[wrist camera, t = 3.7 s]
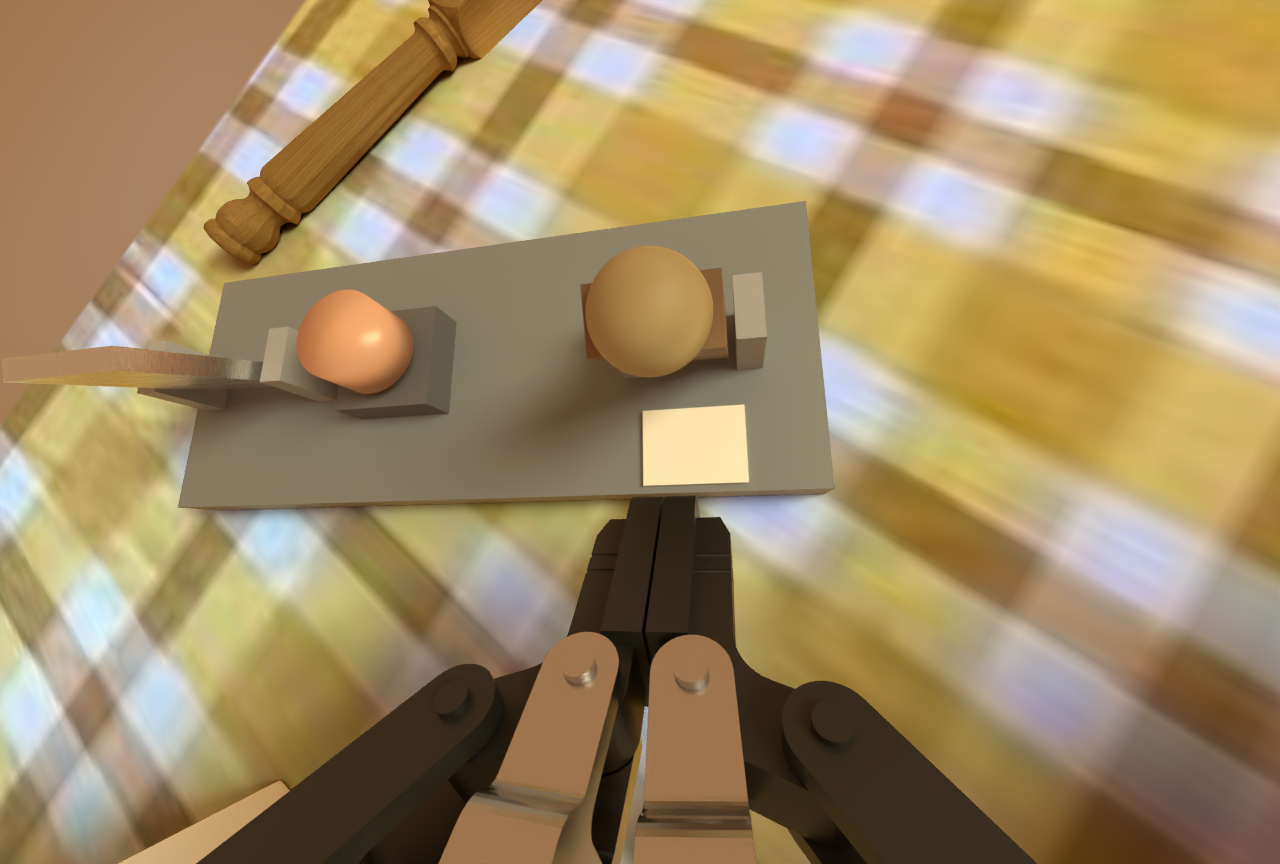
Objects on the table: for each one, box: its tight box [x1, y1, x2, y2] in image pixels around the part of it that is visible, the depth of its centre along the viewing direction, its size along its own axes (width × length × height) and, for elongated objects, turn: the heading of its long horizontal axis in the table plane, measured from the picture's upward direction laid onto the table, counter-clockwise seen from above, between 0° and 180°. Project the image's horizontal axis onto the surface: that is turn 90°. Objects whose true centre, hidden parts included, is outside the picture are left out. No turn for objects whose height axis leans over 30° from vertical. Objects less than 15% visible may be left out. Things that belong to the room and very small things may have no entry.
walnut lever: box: [580, 246, 729, 377], centre depth 14 cm, size 3×3×11 cm
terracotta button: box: [296, 290, 414, 394], centre depth 19 cm, size 4×4×2 cm
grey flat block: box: [2, 346, 270, 391], centre depth 19 cm, size 1×5×7 cm, turn 89°
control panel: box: [137, 201, 834, 510], centre depth 21 cm, size 12×30×5 cm, turn 91°
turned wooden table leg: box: [204, 0, 542, 264], centre depth 28 cm, size 3×3×30 cm
